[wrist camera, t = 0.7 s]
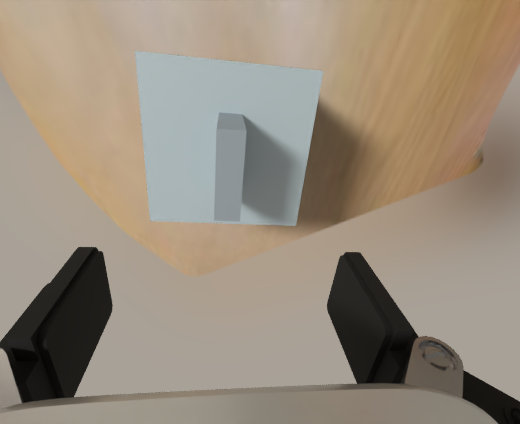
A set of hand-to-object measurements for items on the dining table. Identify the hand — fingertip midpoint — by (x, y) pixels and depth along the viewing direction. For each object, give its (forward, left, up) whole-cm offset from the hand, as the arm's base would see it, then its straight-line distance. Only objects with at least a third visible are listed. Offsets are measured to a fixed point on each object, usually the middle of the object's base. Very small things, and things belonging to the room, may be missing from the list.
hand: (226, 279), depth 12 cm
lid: (0, 0, -19) cm, 19 cm away
